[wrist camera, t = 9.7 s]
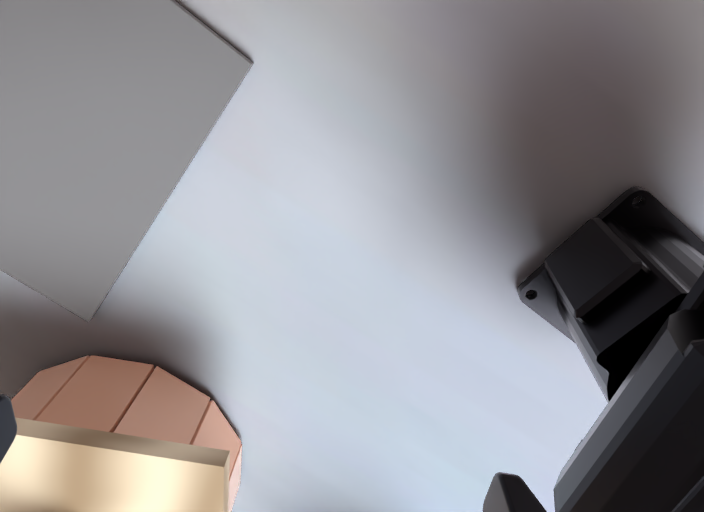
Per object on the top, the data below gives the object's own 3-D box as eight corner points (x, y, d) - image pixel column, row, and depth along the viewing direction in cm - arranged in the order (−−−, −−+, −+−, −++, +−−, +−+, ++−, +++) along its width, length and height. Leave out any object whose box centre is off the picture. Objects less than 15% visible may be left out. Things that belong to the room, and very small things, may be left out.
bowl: (286, 434, 27) (262, 528, 22) (178, 538, 32) (140, 633, 27) (77, 309, 24) (-1, 386, 19) (-5, 444, 29) (-84, 532, 24)
